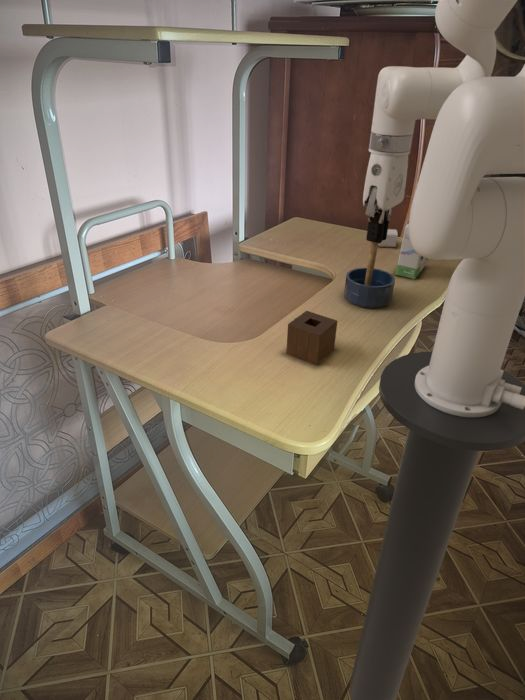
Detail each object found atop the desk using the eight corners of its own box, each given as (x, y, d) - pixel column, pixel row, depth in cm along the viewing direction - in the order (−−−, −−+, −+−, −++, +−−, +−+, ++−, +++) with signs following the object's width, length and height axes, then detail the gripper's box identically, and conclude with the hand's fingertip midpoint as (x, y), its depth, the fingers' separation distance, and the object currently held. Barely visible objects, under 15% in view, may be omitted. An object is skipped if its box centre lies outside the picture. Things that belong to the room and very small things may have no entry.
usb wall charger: (395, 248, 133) (397, 233, 131) (369, 246, 134) (371, 232, 132) (393, 243, 136) (395, 228, 134) (368, 241, 137) (370, 227, 135)
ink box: (404, 263, 124) (413, 216, 118) (425, 267, 122) (435, 220, 116) (394, 275, 118) (403, 226, 111) (416, 280, 116) (426, 230, 109)
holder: (334, 350, 89) (337, 320, 85) (317, 365, 84) (319, 335, 81) (304, 339, 92) (306, 310, 88) (286, 353, 87) (287, 323, 84)
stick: (371, 286, 107) (384, 212, 98) (368, 288, 106) (381, 214, 98) (365, 284, 108) (378, 211, 99) (362, 286, 107) (375, 213, 98)
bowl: (398, 296, 108) (402, 275, 105) (379, 314, 101) (383, 291, 98) (356, 284, 113) (359, 264, 110) (335, 300, 105) (338, 278, 103)
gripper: (392, 152, 84) (377, 255, 94) (424, 140, 95) (407, 234, 105) (352, 147, 88) (341, 246, 98) (388, 136, 99) (375, 226, 109)
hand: (376, 239), depth 101 cm, fingers closed on stick, 1 cm apart
